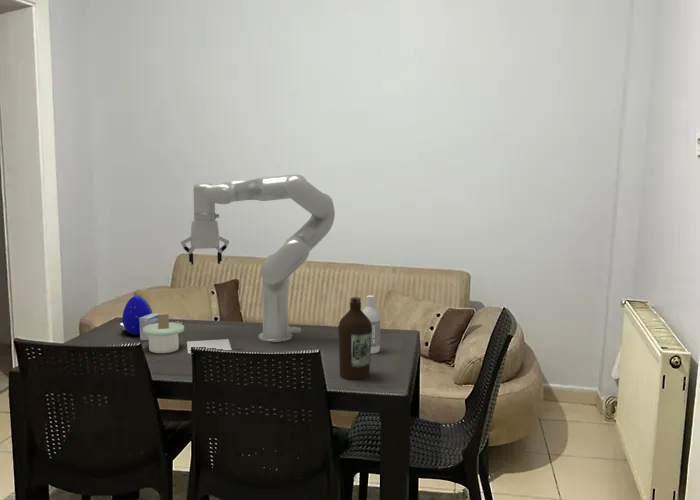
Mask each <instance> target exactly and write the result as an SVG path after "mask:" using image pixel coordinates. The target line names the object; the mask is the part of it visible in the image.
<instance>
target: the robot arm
mask: <svg viewBox="0 0 700 500" xmlns="http://www.w3.org/2000/svg"><path fill="white" fill-rule="evenodd" d="M287 199H290V200H292V201H293V202H294V203H296V204H297V205H299V206H300V207H301V208H302V209H304V210H306V211H307V212H308V213H309V214H311V216H310V218H309V219H308V220H307V221H306V222H305V223H304V224H303V225H302V226H301V227H300V229H298V230H297V231H296V232H295V233H294V234H292V235H291V236H289V238H288V239H286V240H285V242H284V243H283V245H282V246H281V247H280V248H279V249H277V251H275V253H273V254H271V255H268V256H267V257H266V258H265V259H264V260H263V262H262V265H261V268H260V276H261V278H262V332H260V333H259V334H258V339H259V340H261V341H265V342H269V343H282V342H281V341H283V342H287V341H289V340H291V339H293V333H294V334H296V333H297V334H300V333H301V331H302V329H301V327H297V326H290V325H289V277H290V276H292V274H293V273H295V272H296V271H297V270H298V269H299V268H300V267H301V266H302V265H303V264H305V262H306V260H307V259H308V258H309V255H310V252H311V251H312V250H313V249H314V248H315V247H316V246H317V245H318V244H319V243H320V242H321V241H322V240H323V239H324V238H325V237H326V236H327V235H328V233H329V232H330V231H331V229H332V227H333V225H334V221H335V215H336V213H335V205H334V200H333V199H332V198H331V196H330V195H328V194H327V193H324V192H322V190H319V189H318V188H317V187H315V186H314V185H313V184H312V183H310V182H309V181H307V179H306V178H305V177H304V176H303V175H302V174H297V173H296V174H287V175H286V174H285V175H278V176H277V175H275V176H270V177H269V176H268V177H267V176H266V177H259V178H254V179H246V180H235V181H227V182H222V183H220V184H212V183H207V182H206V183H204V182H203V183H196V184H194V186H193V221H192V220H191V225H190V236H189V237H187V238H186V239H183V240H181V241H180V244H181V246H182V248H183V250H184V251H186V253H188V262H189V263H190V265H192V266H193V265H194V253H193V252H194V251H195V250H196V249H197V250H198V249H199V250H202V249H216V250H217V264H218V265H220V264H221V262H223V259H222V258H223V256H222V255H223V254H222V253H223V252H224V251H225V250H227V247H228V245H229V243H230V241H229V240H228V239H226V238H224V237H222V236H220V231H219V230H220V229H219V223H218V221H217V220H216V219H218V218H220V214H218V213H216V207H215V206H216V204H218V205H229V204H231V203H233V202H242V201H243V202H244V201H260V202H268V201H270V202H271V201H277V200H287ZM189 242H190V246H191V247H188V246H187V245H186V244H187V243H189ZM220 242H222V243H224V244H223V245H222V246H221V247H220Z"/></svg>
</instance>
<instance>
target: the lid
mask: <svg viewBox="0 0 700 500" xmlns="http://www.w3.org/2000/svg"><path fill="white" fill-rule="evenodd" d="M157 313H158V323H154V324H150V325H147V326H145V327H143V333H144V334H146V335H150V336H169V335H175V334H178V335H179V334H181V333H184V332H185V325H184V324H183V323H178V322H171V321H170V320H169V319H170V317H169V311H163V312H162V311H161V312H157Z"/></svg>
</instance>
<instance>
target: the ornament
mask: <svg viewBox="0 0 700 500" xmlns="http://www.w3.org/2000/svg"><path fill="white" fill-rule="evenodd" d="M151 313H153V310H152V308H151V306H150V304H149V303H148V302H147V299H144V297H142V296H140V295H134V296H132V297H131V298H130V299H129V300H128V301H127V303H126V305H125V306H124V309H123V311H122V319H121V320H122V326H123V328H124V330H125V331H126V332H127V333H128V334H131V335H133V336H140V321H139V318H141V317H143V316H146V315H149V314H151Z"/></svg>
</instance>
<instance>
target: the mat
mask: <svg viewBox="0 0 700 500" xmlns="http://www.w3.org/2000/svg"><path fill="white" fill-rule="evenodd" d="M186 344H187V345H186V346H187V347H186V348H187V354H192V353H191V351H190V350H191V347H206V348H216V349H223V350H232V351H233V349H232V347H231V343H230V340H229V339H228V338H226V339H225V338H224V339H208V340H206V339H205V340H194V341H193V340H190V341H189V340H188V341H186Z"/></svg>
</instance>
